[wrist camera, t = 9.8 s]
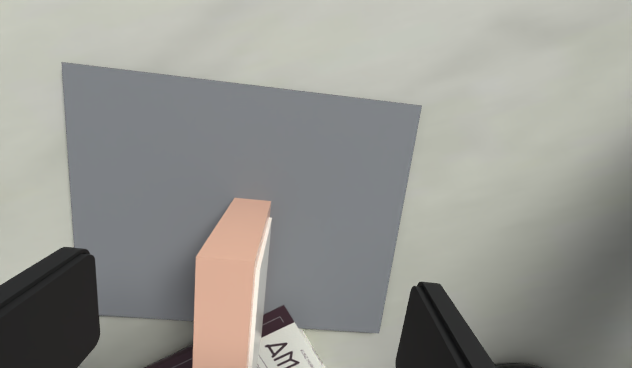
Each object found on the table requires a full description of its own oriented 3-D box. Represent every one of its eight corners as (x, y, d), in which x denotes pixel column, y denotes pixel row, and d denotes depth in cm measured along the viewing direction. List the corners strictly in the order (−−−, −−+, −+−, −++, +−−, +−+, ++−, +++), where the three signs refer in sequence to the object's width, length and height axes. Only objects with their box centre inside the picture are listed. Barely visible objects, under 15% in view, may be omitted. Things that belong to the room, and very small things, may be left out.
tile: (273, 201, 18) (259, 261, 11) (261, 339, 20) (242, 459, 14) (234, 197, 18) (195, 256, 11) (226, 337, 20) (189, 457, 13)
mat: (419, 105, 18) (421, 105, 17) (377, 328, 21) (379, 333, 21) (67, 63, 16) (61, 62, 16) (83, 309, 20) (78, 313, 19)
